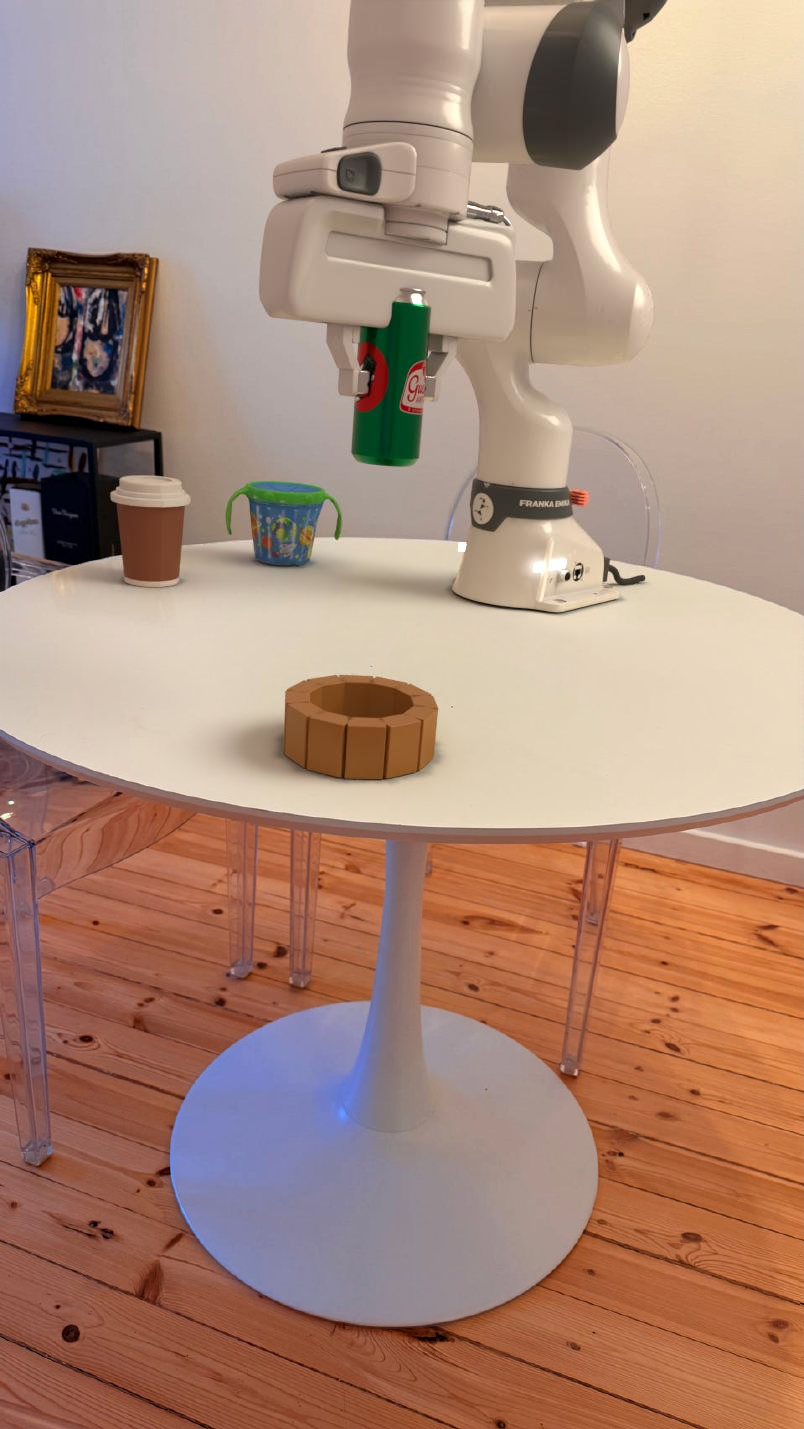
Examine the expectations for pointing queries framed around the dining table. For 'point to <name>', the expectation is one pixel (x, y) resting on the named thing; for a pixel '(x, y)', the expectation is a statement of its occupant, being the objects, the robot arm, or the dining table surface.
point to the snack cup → (283, 519)
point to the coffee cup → (150, 528)
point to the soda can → (393, 384)
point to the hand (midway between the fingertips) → (388, 398)
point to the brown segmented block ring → (359, 726)
